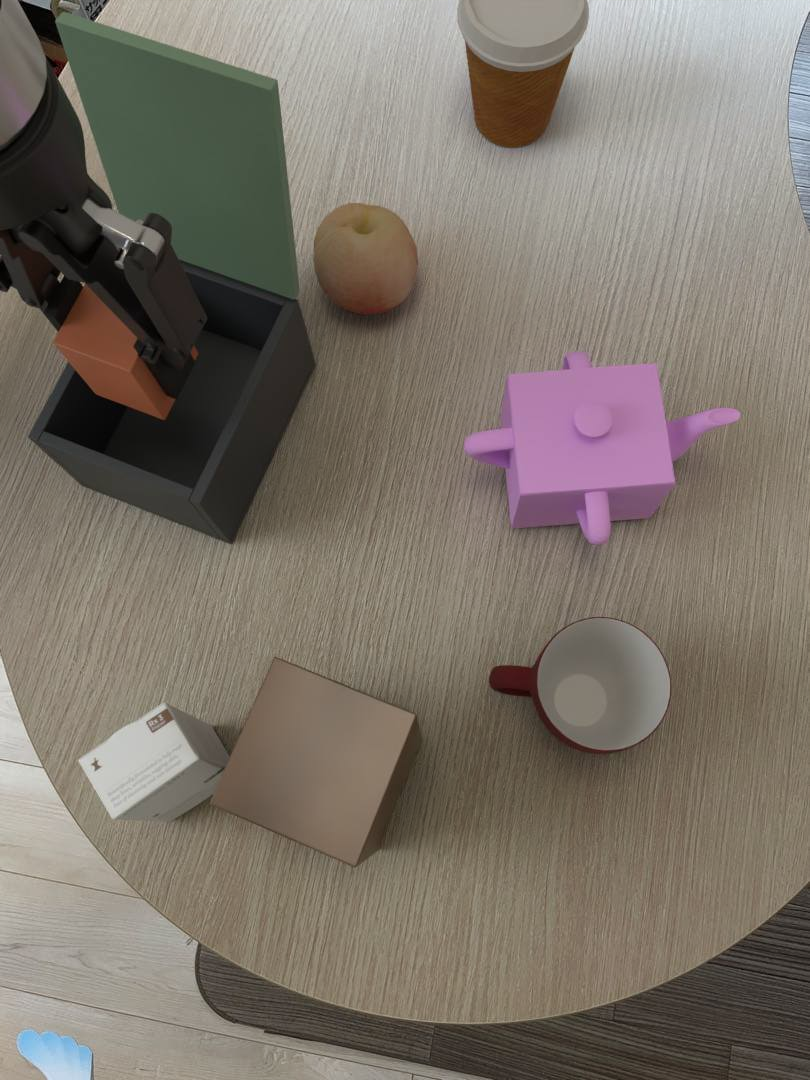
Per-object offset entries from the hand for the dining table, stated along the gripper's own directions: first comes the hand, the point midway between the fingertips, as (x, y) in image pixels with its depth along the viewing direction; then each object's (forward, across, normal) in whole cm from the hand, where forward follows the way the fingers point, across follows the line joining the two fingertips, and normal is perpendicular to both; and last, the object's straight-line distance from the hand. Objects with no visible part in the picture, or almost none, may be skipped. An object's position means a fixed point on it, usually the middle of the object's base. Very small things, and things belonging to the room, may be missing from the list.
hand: (139, 363), depth 59 cm
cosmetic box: (+13, +10, -22) cm, 28 cm away
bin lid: (-5, 0, +10) cm, 12 cm away
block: (+2, 0, 0) cm, 2 cm away
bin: (+13, 0, +2) cm, 13 cm away
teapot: (+13, +28, +8) cm, 32 cm away
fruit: (+13, +7, +17) cm, 23 cm away
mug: (+13, +32, -8) cm, 36 cm away
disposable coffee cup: (+13, +12, +36) cm, 40 cm away
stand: (+13, +20, -18) cm, 30 cm away
